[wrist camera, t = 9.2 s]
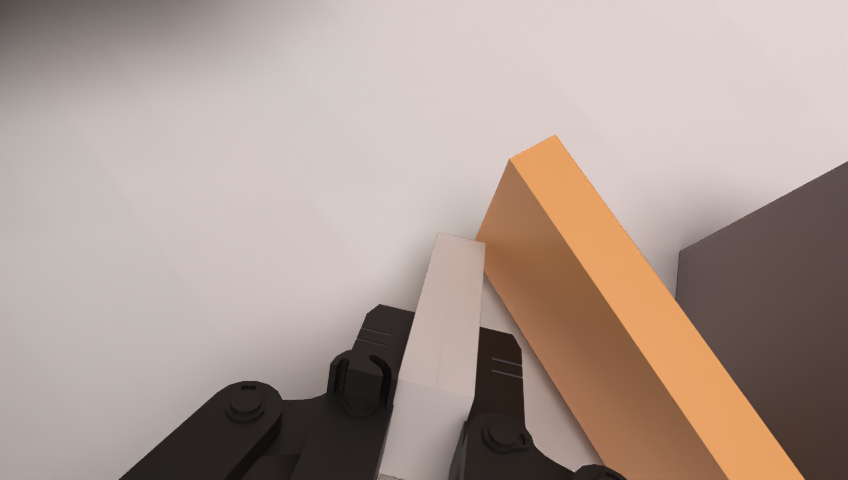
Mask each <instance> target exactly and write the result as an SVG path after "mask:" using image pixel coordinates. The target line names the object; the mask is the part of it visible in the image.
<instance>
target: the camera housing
mask: <svg viewBox="0 0 848 480" xmlns="http://www.w3.org/2000/svg"><path fill="white" fill-rule="evenodd" d="M676 302H677V303H678V305H679V306H680V308H681V309H682V310H683V312H684V313H685V314H686V316H687V317H688V319H689V320H690V321H691V323H692V324H693V325H694V327H695V328H696V330H697V331H698V332H699V334H700V335H701V337H702V338H703V339H704V341H705V342H706V343H707V345H708V346H709V348H710V349H711V350H712V352H713V353H714V355H715V356H716V357H717V359H718V360H719V361H720V363H721V364H722V366H723V367H724V368H725V370H726V371H727V373H728V374H729V375H730V377H731V378H732V379H733V381H734V382H735V384H736V385H737V386H738V388H739V389H740V391H741V392H742V393H743V395H744V396H745V397H746V399H747V400H748V402H749V403H750V404H751V406H752V407H753V408H754V410H755V411H756V413H757V414H758V415H759V417H760V418H761V420H762V421H763V422H764V424H765V425H766V426H767V428H768V429H769V431H770V432H771V433H772V435H773V436H774V438H775V439H776V440H777V442H778V443H779V444H780V446H781V447H782V449H783V450H784V451H785V453H786V454H787V456H788V457H789V458H790V460H791V461H792V462H793V464H794V465H795V467H796V468H797V469H798V471H799V472H800V474H801V475H802V476H803V478H804V479H805V480H848V161H847V162H846V163H844V164H842V165H840V166H838V167H836V168H834V169H833V170H831V171H829V172H827V173H825V174H823V175H821V176H820V177H818V178H816V179H814V180H812V181H810V182H808V183H807V184H805V185H803V186H801V187H799V188H797V189H795V190H793V191H792V192H790V193H788V194H786V195H784V196H782V197H780V198H779V199H777V200H775V201H773V202H771V203H769V204H767V205H766V206H764V207H762V208H760V209H758V210H756V211H754V212H752V213H751V214H749V215H747V216H745V217H743V218H741V219H739V220H738V221H736V222H734V223H732V224H730V225H728V226H726V227H725V228H723V229H721V230H719V231H717V232H715V233H713V234H711V235H710V236H708V237H706V238H704V239H702V240H700V241H698V242H697V243H695V244H693V245H691V246H689V247H687V248H685V249H684V250H682V251H680V257H679V268H678V280H677V292H676Z"/></svg>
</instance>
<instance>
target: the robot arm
mask: <svg viewBox="0 0 848 480" xmlns="http://www.w3.org/2000/svg"><path fill="white" fill-rule="evenodd" d="M485 244H486V243H483V242H479V241H474V240H470V239H466V238H461V237H457V236H453V235H448V234H444V233H440V232H438V233H437V237H436V241H435V244H434V248H433V251H432V255H431V259H430V262H429V266H428V270H427V273H426V277H425V281H424V284H423V288H422V291H421V295H420V299H419V302H418V306H417V310H416V313H415V312H410V311H406V310H402V309H398V308H394V307H390V306H385V305H381V304H379V305H378V306H376V307H375V308H374V309H373V310H371V311H370V312H369V313H367V315H366V317H365V320H364V322H363V324H362V327H361V329H360V332H359V334H358V336H357V340H356V341H355V343H354V346H353V348H352V350H348V351H345V352H343V353H341V354H340V355H338V356H336V358H335V359H334V360H333V361H332V363H331V364H330V372H329V379H328V387H327V393H325V394H323V395H321V396H318V397H315V398H312V399H304V400H282V398H281V396H280V395H279V393H278V391H277V390H275V389H274V388H273V387H271V386H270V385H268V384H265V383H261V382H258V381H242V382H238V383H235V384H231V385H228V386H227V387H225V388H224V389H222V390H220V391H219V392H217V393H216V394H215V395H214V396H213V397H212V398H211V399H209V400H208V401H207V402H206V403H205V404H204V405H203V406H201V407H200V408H199V409H198V410H197V411H196V412H195V413H194V414H192V415H191V416H190V417H189V418H188V419H187V420H186V421H185V422H183V423H182V424H181V425H180V426H179V427H178V428H177V429H175V430H174V431H173V432H172V433H171V434H170V435H169V436H168V437H166V438H165V439H164V440H163V441H162V442H161V443H160V444H158V445H157V446H156V447H155V448H154V449H153V450H152V451H151V452H149V453H148V454H147V455H146V456H145V457H144V458H143V459H141V460H140V461H139V462H138V463H137V464H136V465H135V466H134V467H132V468H131V469H130V470H129V471H128V472H127V473H126V474H124V475H123V476H122V477H121V478H120V479H119V480H377V477H378V473H381V474H385V475H389V476H392V477H396V478H400V479H404V480H627V479H626V478H625V477H624V476H622V475H621V474H620V473H618V472H616V471H614V470H612V469H610V468H608V467H605V466H600V465H596V464H592V465H586V466H582V467H581V468H580V469H579V470H577V471H576V472H575V473H574V472H572V471H571V470H569V469H567V468H565V467H563V466H561V465H559V464H558V463H556V462H554V461H552V460H551V459H549V458H548V457H546V456H545V455H544V454H543V453H542V452H540V451H539V450H538V449H537V448H536V447H535V445H534V443H533V440H532V436H531V435H530V433H529V432H528V431H527V429H526V427H525V415H524V394H523V379H522V377H523V373H522V352H521V348H520V346H519V345H518V343H517V341H516V339H515V338H514V336H513V335H512V334H508V333H503V332H499V331H495V330H491V329H487V328H483V327H479V326H480V312H481V298H482V285H483V271H484V258H485Z"/></svg>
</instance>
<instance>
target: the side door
mask: <svg viewBox="0 0 848 480" xmlns="http://www.w3.org/2000/svg"><path fill="white" fill-rule="evenodd" d="M475 241H479V242H483V243H486V244H485V258H484V272H485V274H486V275H487V277H488V278H489V280H490V282H491V283H492V285H493V286H494V288H495V290H496V291H497V293H498V294H499V296H500V298H501V299H502V301H503V302H504V304H505V306H506V307H507V309H508V310H509V312H510V314H511V315H512V317H513V318H514V320H515V322H516V323H517V325H518V326H519V328H520V330H521V331H522V333H523V334H524V336H525V338H526V339H527V341H528V342H529V344H530V346H531V347H532V349H533V350H534V352H535V354H536V355H537V357H538V358H539V360H540V362H541V363H542V365H543V366H544V368H545V370H546V371H547V373H548V374H549V376H550V378H551V379H552V381H553V382H554V384H555V386H556V387H557V389H558V390H559V392H560V393H561V395H562V397H563V398H564V400H565V401H566V403H567V405H568V406H569V408H570V409H571V411H572V413H573V414H574V416H575V417H576V419H577V421H578V422H579V424H580V425H581V427H582V429H583V430H584V432H585V433H586V435H587V437H588V438H589V440H590V441H591V443H592V445H593V446H594V448H595V449H596V451H597V453H598V454H599V456H600V457H601V459H602V461H603V462H604V464H605V465H606V467H608V468H610V469H612V470H614V471H616V472H618V473H620V474H621V475H622V476H624V477H625V478H626V479H627V480H805V479H804V478H803V476H802V475H801V474H800V472H799V471H798V469H797V468H796V467H795V465H794V464H793V462H792V461H791V460H790V458H789V457H788V456H787V454H786V453H785V451H784V450H783V449H782V447H781V446H780V444H779V443H778V442H777V440H776V439H775V438H774V436H773V435H772V433H771V432H770V431H769V429H768V428H767V426H766V425H765V424H764V422H763V421H762V420H761V418H760V417H759V415H758V414H757V413H756V411H755V410H754V408H753V407H752V406H751V404H750V403H749V402H748V400H747V399H746V397H745V396H744V395H743V393H742V392H741V391H740V389H739V388H738V386H737V385H736V384H735V382H734V381H733V379H732V378H731V377H730V375H729V374H728V373H727V371H726V370H725V368H724V367H723V366H722V364H721V363H720V361H719V360H718V359H717V357H716V356H715V355H714V353H713V352H712V350H711V349H710V348H709V346H708V345H707V343H706V342H705V341H704V339H703V338H702V337H701V335H700V334H699V332H698V331H697V330H696V328H695V327H694V325H693V324H692V323H691V321H690V320H689V319H688V317H687V316H686V314H685V313H684V312H683V310H682V309H681V308H680V306H679V305H678V303H677V302H676V301H675V299H674V298H673V296H672V295H671V294H670V292H669V291H668V290H667V288H666V287H665V285H664V284H663V283H662V281H661V280H660V278H659V277H658V276H657V274H656V273H655V272H654V270H653V269H652V267H651V266H650V265H649V263H648V262H647V260H646V259H645V258H644V256H643V255H642V254H641V252H640V251H639V249H638V248H637V247H636V245H635V244H634V242H633V241H632V240H631V238H630V237H629V236H628V234H627V233H626V231H625V230H624V229H623V227H622V226H621V225H620V223H619V222H618V220H617V219H616V218H615V216H614V215H613V213H612V212H611V211H610V209H609V208H608V207H607V205H606V204H605V202H604V201H603V200H602V198H601V197H600V195H599V194H598V193H597V191H596V190H595V189H594V187H593V186H592V184H591V183H590V182H589V180H588V179H587V177H586V176H585V175H584V173H583V172H582V171H581V169H580V168H579V166H578V165H577V164H576V162H575V161H574V159H573V158H572V157H571V155H570V154H569V153H568V151H567V150H566V148H565V147H564V146H563V144H562V143H561V142H560V140H559V139H558V137H557V136H556V135H554V136H552V137H550V138H548V139H546V140H544V141H542V142H540V143H539V144H537V145H535V146H533V147H531V148H529V149H527V150H525V151H523V152H522V153H520V154H518V155H516V156H514V157H512V158H510V159H509V161H508V164H507V166H506V168H505V171H504V173H503V175H502V178H501V180H500V182H499V185H498V187H497V189H496V192H495V194H494V197H493V199H492V201H491V204H490V206H489V208H488V211H487V213H486V215H485V218H484V220H483V222H482V225H481V227H480V229H479V232H478V234H477V237H476V239H475Z"/></svg>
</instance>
